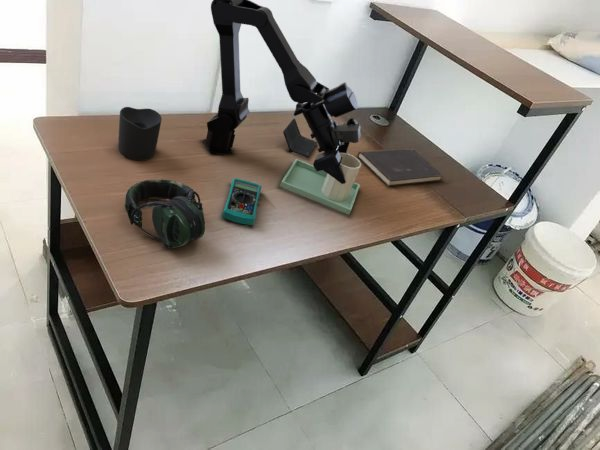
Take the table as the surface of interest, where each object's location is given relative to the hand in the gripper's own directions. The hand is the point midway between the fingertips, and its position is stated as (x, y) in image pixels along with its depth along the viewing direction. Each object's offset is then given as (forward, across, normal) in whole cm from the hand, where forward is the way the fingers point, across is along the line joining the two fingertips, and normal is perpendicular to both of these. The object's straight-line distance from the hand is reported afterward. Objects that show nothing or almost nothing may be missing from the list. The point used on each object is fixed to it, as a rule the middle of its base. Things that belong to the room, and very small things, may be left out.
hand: (346, 176), depth 134 cm
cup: (+3, 0, +5) cm, 6 cm away
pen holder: (-31, -16, +40) cm, 53 cm away
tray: (+1, 0, +8) cm, 9 cm away
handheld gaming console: (-7, +18, +17) cm, 26 cm away
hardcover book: (+15, +30, -5) cm, 34 cm away
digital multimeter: (-10, -20, +19) cm, 30 cm away
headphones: (-18, -38, +27) cm, 50 cm away
